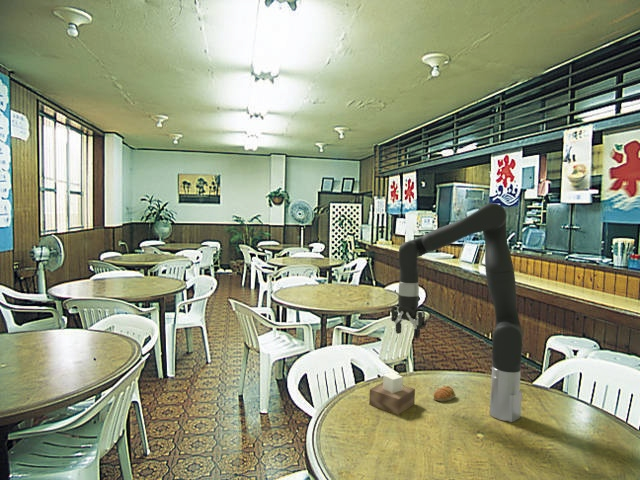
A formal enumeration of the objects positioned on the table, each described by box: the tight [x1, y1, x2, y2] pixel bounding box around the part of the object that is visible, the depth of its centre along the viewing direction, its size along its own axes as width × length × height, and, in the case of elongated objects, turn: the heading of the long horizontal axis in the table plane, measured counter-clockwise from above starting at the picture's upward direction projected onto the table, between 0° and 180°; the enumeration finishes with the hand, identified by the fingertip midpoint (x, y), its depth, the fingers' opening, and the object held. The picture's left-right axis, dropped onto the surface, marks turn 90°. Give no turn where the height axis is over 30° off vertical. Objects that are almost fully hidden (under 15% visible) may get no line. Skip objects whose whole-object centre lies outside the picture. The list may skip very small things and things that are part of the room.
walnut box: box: [368, 382, 416, 416], centre depth 159 cm, size 12×12×6 cm
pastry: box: [433, 385, 457, 403], centre depth 166 cm, size 9×7×4 cm
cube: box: [382, 372, 404, 393], centre depth 159 cm, size 5×5×5 cm
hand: (407, 335), depth 165 cm, fingers open, 8 cm apart
